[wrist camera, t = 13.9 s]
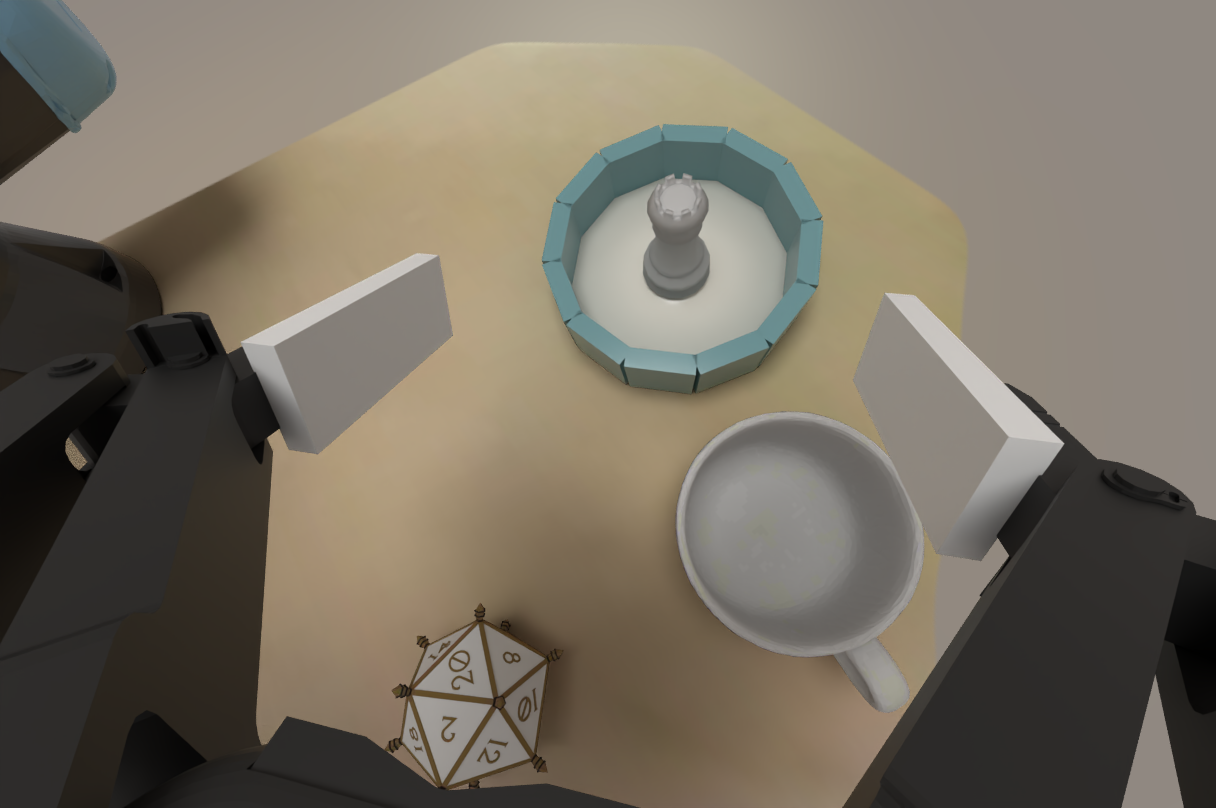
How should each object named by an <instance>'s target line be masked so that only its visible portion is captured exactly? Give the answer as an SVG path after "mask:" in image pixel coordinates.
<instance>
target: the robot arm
mask: <svg viewBox="0 0 1216 808" xmlns="http://www.w3.org/2000/svg"><path fill="white" fill-rule="evenodd" d="M115 87H116V73H115V70H114V67H113V64H112V62H111V61H110V58H109V57H108V55H107V54H106V52H105V51H104V49H103V48H102V46H101V45H100V44H99V42H98V41H97V40H96V39H95V37H94V36H93V35H92V34H91V33H90V31H89V30H88V29H87V28H86V27H85V25H84V24H83V23H82V22H81V21H80V20H79V19H78V18H77V16H76V15H75V14H74V13H73V12H72V11H71V10H70V9H69V8H68V7H67V5H66V4H65V3H64V2H63V1H62V0H0V185H1V184H2V183H3V182H5V181H6V180H7V179H9V178H10V177H11V176H13V175H14V174H15V173H16V172H18V171H19V170H20V169H22V168H23V167H24V166H25V165H27V164H28V163H29V162H30V161H32V160H33V159H34V158H35V157H37V156H38V155H39V154H41V153H42V152H43V151H44V150H46V149H47V148H48V147H50V146H51V145H52V144H54V143H55V142H56V141H57V140H58V139H60V138H61V137H62V136H64V135H65V134H66V133H68V132H69V131H71V132H73V133H77V132H79V131H80V129H81V125H80V123H81V122H82V121H83V120H84V119H85V118H86V117H88V116H89V115H90V114H91V113H92V112H93V111H94V110H95V109H96V108H97V107H99V106H100V105H101V104H102V103H103V102H104V101H105V100H106V99H108V98H109V97H110V96H111V95H112V94H113V92H114V90H115ZM452 336H453V333H452V327H451V321H450V316H449V310H448V304H447V298H446V293H445V287H444V281H443V275H442V270H441V264H440V258H439V255H431V254H419V253H416V254H414V255H412V256H410V257H408V258H406V259H404V260H402V261H400V262H398V263H396V264H394V265H392V266H390V267H388V268H387V269H385V270H383V271H381V272H379V273H377V274H375V275H373V276H371V277H369V278H367V279H365V280H363V281H361V282H359V283H357V284H355V285H353V286H351V287H349V288H347V289H345V290H343V291H341V292H339V293H337V294H335V295H333V296H331V297H329V298H327V299H325V300H323V301H321V302H319V303H317V304H315V305H313V306H311V307H309V308H307V309H305V310H303V311H301V312H299V313H297V314H295V315H293V316H291V317H289V318H287V319H285V320H283V321H281V322H279V323H277V324H275V325H273V326H271V327H269V328H267V329H266V330H264V331H262V332H260V333H258V334H256V335H254V336H252V337H250V338H248V339H246V340H244V341H242V342H241V344H242V347H241V348H239V349H237V350H235V351H233V352H231V353H229V354H227V353H226V351H225V349H224V347H223V345H222V343H221V341H220V339H219V336H218V334H217V332H216V330H215V328H214V326H213V324H212V322H211V320H210V317H209V315H207V314H204V313H201V312H181V313H172V314H167V315H161V304H160V297H159V293H158V289H157V287H156V284H155V282H154V280H153V278H152V277H151V275H150V274H149V272H148V271H147V270H146V269H145V268H144V267H143V266H142V265H141V264H140V263H139V262H137V261H136V260H134V259H132V258H130V257H128V256H126V255H124V254H122V253H119V252H117V251H115V250H113V249H111V248H109V247H107V246H104V245H102V244H99V243H96V242H93V241H90V240H86V239H82V238H76V237H72V236H67V235H62V234H57V233H52V232H47V231H42V230H37V229H33V228H28V227H23V226H18V225H13V224H8V223H3V222H0V808H639V807H635V806H631V805H627V804H623V803H619V802H616V801H612V800H608V799H604V798H600V797H596V796H592V795H589V794H585V793H581V792H577V791H573V790H569V789H565V788H562V787H558V786H554V785H550V784H534V785H520V786H505V787H491V788H477V789H463V790H443V789H439V788H437V787H435V786H433V785H432V784H430V783H429V782H428V781H426V780H425V779H423V778H422V777H421V776H419V775H418V774H417V773H415V772H414V771H412V770H411V769H410V768H408V767H407V766H406V765H404V764H403V763H401V762H400V761H399V760H397V759H396V758H395V757H393V756H392V755H390V754H389V753H388V752H386V751H385V750H384V749H382V748H381V747H379V746H378V745H377V744H375V743H374V742H373V741H371V740H370V739H368V738H367V737H365V736H361V735H357V734H353V733H349V732H346V731H342V730H338V729H334V728H330V727H326V726H322V725H319V724H315V723H311V722H307V721H303V720H299V719H295V718H292V717H288V716H287V717H286V719H285V720H284V721H283V723H282V724H281V726H280V727H279V729H278V730H277V731H276V733H275V734H274V736H273V737H272V738H271V740H270V741H269V743H268V744H265V745H261V743H260V740H259V736H258V732H257V726H256V706H257V690H258V675H259V659H260V644H261V628H262V613H263V597H264V582H265V566H266V551H267V535H268V519H269V504H270V488H271V473H272V457H273V451H272V448H271V446H270V444H269V442H268V440H267V437H268V436H270V435H271V434H273V433H274V432H275V431H277V430H278V429H280V431H281V433H282V435H283V438H284V440H285V442H286V444H287V447H288V449H289V450H295V451H301V452H307V453H313V454H319V453H320V452H321V451H322V450H323V449H325V448H326V447H327V446H328V445H329V444H330V443H331V442H332V441H334V440H335V439H336V438H337V437H338V436H339V435H340V434H342V433H343V432H344V431H345V430H346V429H347V428H348V427H349V426H351V425H352V424H353V423H354V422H355V421H356V420H357V419H359V418H360V417H361V416H362V415H363V414H364V413H365V412H367V411H368V410H369V409H370V408H371V407H372V406H373V405H374V404H376V403H377V402H378V401H379V400H380V399H381V398H382V397H384V396H385V395H386V394H387V393H388V392H389V391H390V390H391V389H393V388H394V387H395V386H396V385H397V384H398V383H399V382H401V381H402V380H403V379H404V378H405V377H406V376H407V375H408V374H410V373H411V372H412V371H413V370H414V369H415V368H416V367H418V366H419V365H420V364H421V363H422V362H423V361H424V360H425V359H427V358H428V357H429V356H430V355H431V354H432V353H433V352H435V351H436V350H437V349H438V348H439V347H440V346H441V345H443V344H444V343H445V342H446V341H447V340H448V339H449V338H450V337H452ZM145 366H146V367H147V370H146V372H145V374H141V373H142V371H143V369H144V368H145ZM853 381H854V383H855V385H856V387H857V390H858V392H859V394H860V396H861V398H862V400H863V402H864V404H865V406H866V408H867V410H868V412H869V415H870V417H871V419H872V421H873V423H874V425H875V427H876V429H877V431H878V433H879V435H880V437H881V439H882V442H883V444H884V446H885V448H886V450H887V452H888V454H889V456H890V458H891V460H892V462H893V464H894V467H895V469H896V471H897V473H898V475H899V477H900V479H901V481H902V483H903V485H904V487H905V489H906V492H907V494H908V496H909V498H910V500H911V502H912V504H913V506H914V508H915V510H916V512H917V514H918V516H919V519H920V521H921V523H922V525H923V527H924V529H925V531H926V533H927V535H928V537H929V539H930V541H931V544H932V546H933V548H934V550H935V552H936V554H941V555H947V556H954V557H960V558H966V559H972V560H979V561H981V560H982V559H983V558H984V556H985V555H986V553H987V552H988V551H989V549H990V548H991V546H992V545H993V544H994V542H995V541H996V539H997V538H998V539H999V540H1000V542H1001V544H1002V545H1003V547H1004V548H1005V550H1006V551H1007V553H1008V554H1009V557H1008V559H1007V560H1006V561H1005V562H1004V564H1003V565H1002V566H1001V568H1000V569H999V570H998V572H997V573H996V574H995V576H994V577H993V578H992V580H991V581H990V582H989V584H988V585H987V586H986V588H985V589H984V590H983V592H982V593H981V594H980V596H981V598H980V599H979V601H978V602H977V604H976V605H975V607H974V609H973V610H972V612H971V613H970V615H969V616H968V618H967V619H966V621H965V622H964V624H963V625H962V627H961V628H960V630H959V631H958V633H957V634H956V636H955V637H954V639H953V640H952V642H951V643H950V645H949V646H948V648H947V650H946V651H945V653H944V654H943V656H942V657H941V659H940V660H939V662H938V663H937V665H936V666H935V668H934V669H933V671H932V672H931V674H930V675H929V677H928V678H927V680H926V681H925V683H924V684H923V686H922V687H921V689H920V691H919V692H918V694H917V695H916V697H915V698H914V700H913V701H912V703H911V704H910V706H909V707H908V709H907V710H906V712H905V713H904V715H903V716H902V718H901V719H900V721H899V722H898V724H897V725H896V727H895V728H894V730H893V732H892V733H891V735H890V736H889V738H888V739H887V741H886V742H885V744H884V745H883V747H882V748H881V750H880V751H879V753H878V754H877V756H876V757H875V759H874V760H873V762H872V763H871V765H870V766H869V768H868V770H867V771H866V773H865V774H864V776H863V777H862V779H861V780H860V782H859V783H858V785H857V786H856V788H855V789H854V791H853V792H852V794H851V795H850V797H849V798H848V800H847V801H846V803H845V804H844V806H843V808H1121V807H1122V802H1123V799H1124V795H1125V791H1126V787H1127V783H1128V779H1129V775H1130V771H1131V767H1132V763H1133V759H1134V755H1135V752H1136V747H1137V744H1138V740H1139V736H1140V732H1141V728H1142V724H1143V720H1144V716H1145V712H1146V708H1147V704H1148V700H1149V696H1150V692H1151V689H1152V685H1153V681H1154V677H1155V674H1156V679H1157V683H1158V688H1159V693H1160V697H1161V702H1162V707H1163V711H1164V716H1165V721H1166V725H1167V730H1168V735H1169V739H1170V744H1171V749H1172V754H1173V758H1174V763H1175V768H1176V772H1177V777H1178V782H1179V786H1180V791H1181V796H1182V801H1183V805H1184V808H1216V520H1212V519H1209V518H1205V517H1201V516H1198V515H1196V511H1195V508H1194V504H1193V503H1192V502H1191V501H1190V500H1189V499H1188V498H1187V497H1186V496H1185V495H1184V494H1183V493H1182V492H1181V491H1180V490H1178V489H1176V488H1175V487H1174V486H1172V485H1170V484H1169V483H1167V482H1166V481H1164V480H1162V479H1160V478H1158V477H1156V476H1154V475H1152V474H1149V473H1147V472H1145V471H1143V470H1140V469H1137V468H1134V467H1131V466H1128V465H1125V464H1122V463H1118V462H1112V461H1107V460H1101V459H1097V458H1096V457H1094V456H1093V455H1092V454H1091V453H1090V452H1089V451H1088V450H1087V449H1086V448H1085V447H1084V446H1083V445H1082V444H1081V443H1080V442H1079V441H1078V440H1077V439H1075V438H1074V437H1073V436H1072V435H1071V434H1070V433H1069V432H1068V431H1067V430H1066V429H1065V428H1064V427H1060V423H1059V422H1057V421H1056V420H1055V419H1054V418H1053V417H1052V416H1051V415H1047V411H1046V410H1045V409H1044V408H1043V407H1042V406H1041V405H1039V404H1038V403H1037V402H1036V401H1035V400H1034V399H1033V398H1032V397H1030V396H1029V395H1027V394H1025V393H1023V392H1022V391H1020V390H1018V389H1016V388H1015V387H1013V386H1011V385H1009V384H1006V383H1003V382H1001V381H1000V380H999V379H998V377H997V376H995V375H994V374H993V373H992V372H991V371H990V370H989V369H988V368H987V367H986V366H985V365H984V364H983V363H982V362H981V361H980V360H979V359H978V358H977V357H976V356H975V355H974V354H973V353H972V352H971V351H970V350H969V349H968V348H967V347H966V346H965V345H964V344H963V343H962V342H961V341H960V340H959V339H958V338H957V337H956V336H955V335H954V334H953V333H952V332H951V331H950V330H949V329H948V328H947V327H946V326H945V325H944V324H943V323H942V322H941V321H940V320H939V319H938V318H937V317H936V316H935V315H934V314H933V313H932V312H931V311H930V310H929V309H928V308H927V307H926V306H925V305H924V304H923V303H922V302H921V301H920V300H919V299H918V298H917V297H916V296H915V295H904V294H893V293H884V295H883V298H882V301H881V304H880V307H879V309H878V312H877V315H876V318H875V320H874V323H873V326H872V329H871V331H870V334H869V337H868V340H867V343H866V345H865V348H864V351H863V354H862V356H861V359H860V362H859V365H858V368H857V370H856V373H855V376H854V379H853ZM68 437H69V438H70V440H71V441H72V442H73V444H74V445H75V446H76V448H77V449H78V450H79V451H80V453H81V454H82V455H83V457H84V458H85V459H86V461H87V463H86V464H85V465H84V466H83V467H82V468H81V469H80V470H78V469H76V468H75V467H74V466H73V465H72V463H71V462H70V461H69V459H68V456H67V454H66V452H65V446H66V440H67V438H68Z"/></svg>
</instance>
